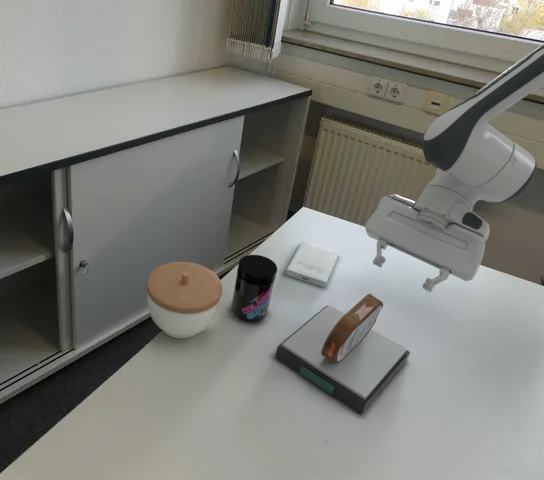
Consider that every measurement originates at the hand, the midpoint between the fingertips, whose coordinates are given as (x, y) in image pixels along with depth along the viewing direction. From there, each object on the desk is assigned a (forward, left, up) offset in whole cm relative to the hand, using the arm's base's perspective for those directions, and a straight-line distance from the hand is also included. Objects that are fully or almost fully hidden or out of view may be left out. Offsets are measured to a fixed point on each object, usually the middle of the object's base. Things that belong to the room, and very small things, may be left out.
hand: (400, 276), depth 97 cm
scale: (0, +17, -9) cm, 19 cm away
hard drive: (+18, -3, -9) cm, 21 cm away
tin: (0, +17, -6) cm, 18 cm away
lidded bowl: (+24, +31, -9) cm, 40 cm away
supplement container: (+18, +19, -9) cm, 28 cm away
